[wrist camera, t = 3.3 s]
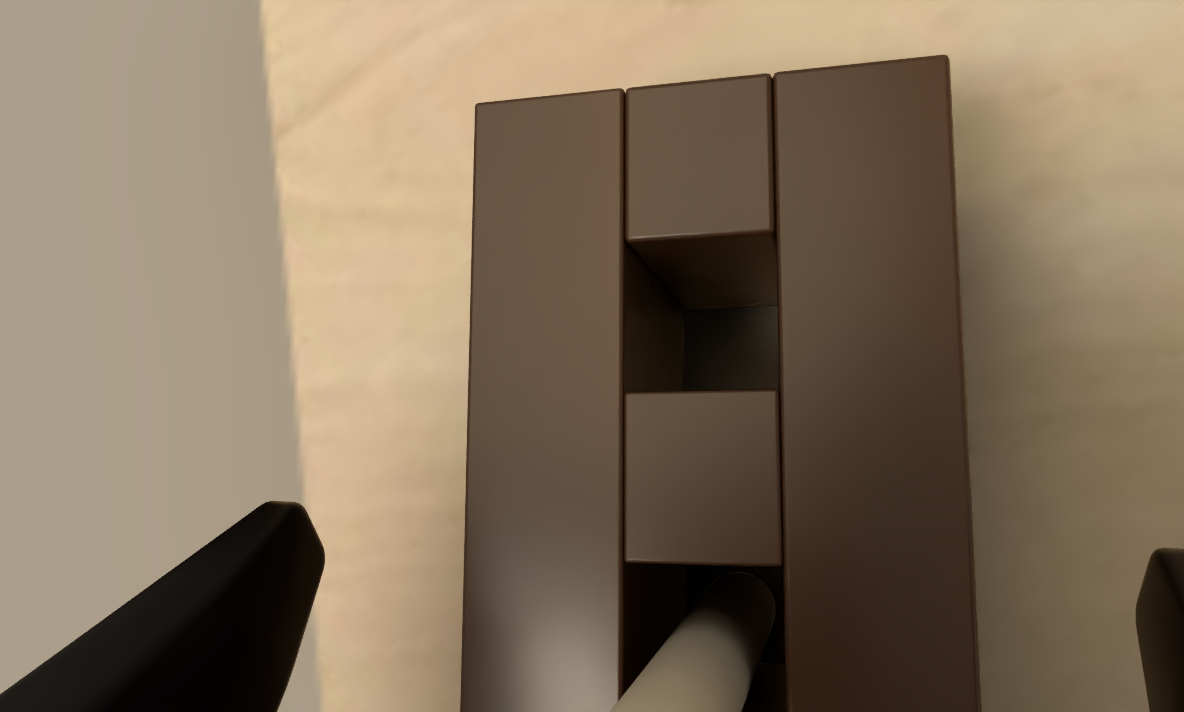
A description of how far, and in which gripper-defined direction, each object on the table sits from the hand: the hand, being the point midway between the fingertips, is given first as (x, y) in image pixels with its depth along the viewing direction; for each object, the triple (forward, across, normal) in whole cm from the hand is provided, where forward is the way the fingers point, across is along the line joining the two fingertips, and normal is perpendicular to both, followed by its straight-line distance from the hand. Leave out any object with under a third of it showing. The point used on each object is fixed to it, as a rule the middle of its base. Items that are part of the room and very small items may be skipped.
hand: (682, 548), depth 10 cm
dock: (+4, 0, +6) cm, 7 cm away
